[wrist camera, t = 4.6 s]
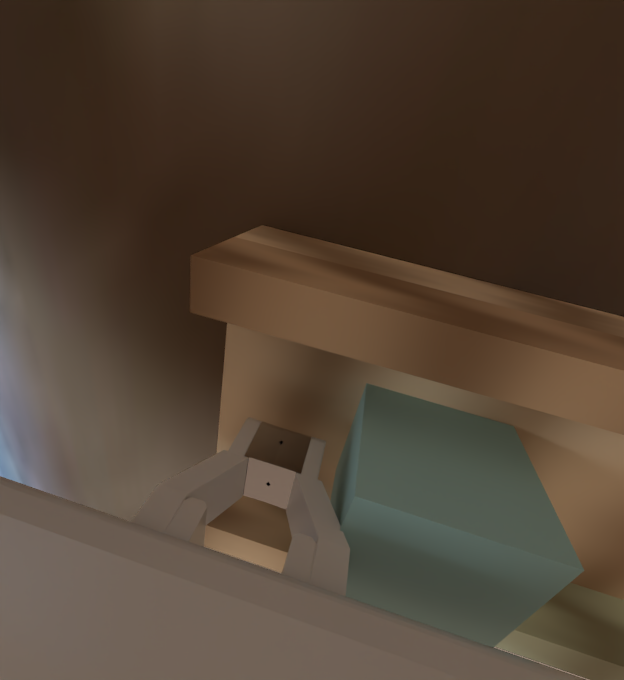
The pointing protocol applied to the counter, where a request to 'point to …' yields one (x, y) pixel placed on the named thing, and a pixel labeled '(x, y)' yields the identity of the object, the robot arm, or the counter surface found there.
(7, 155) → the counter surface
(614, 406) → the channel
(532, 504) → the block
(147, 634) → the robot arm
